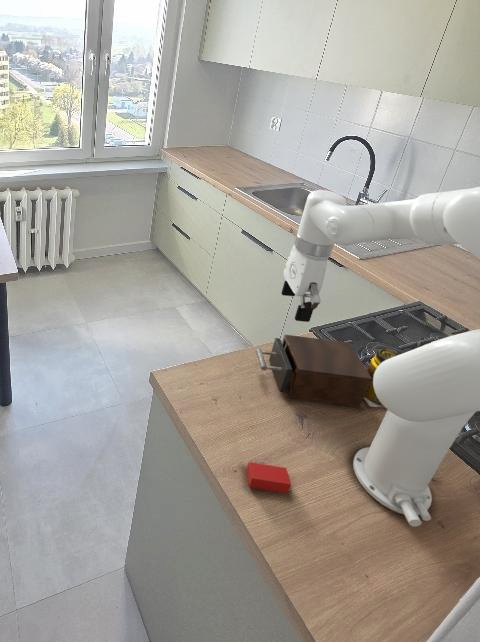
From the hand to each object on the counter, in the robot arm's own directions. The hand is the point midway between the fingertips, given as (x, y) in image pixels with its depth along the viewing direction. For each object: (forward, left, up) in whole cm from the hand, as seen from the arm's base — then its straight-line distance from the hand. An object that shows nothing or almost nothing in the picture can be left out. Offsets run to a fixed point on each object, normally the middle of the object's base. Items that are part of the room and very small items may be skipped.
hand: (294, 307), depth 100 cm
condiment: (-6, -22, -18) cm, 29 cm away
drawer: (-5, -3, -17) cm, 18 cm away
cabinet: (-5, -8, -18) cm, 20 cm away
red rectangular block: (-32, +10, -18) cm, 38 cm away
